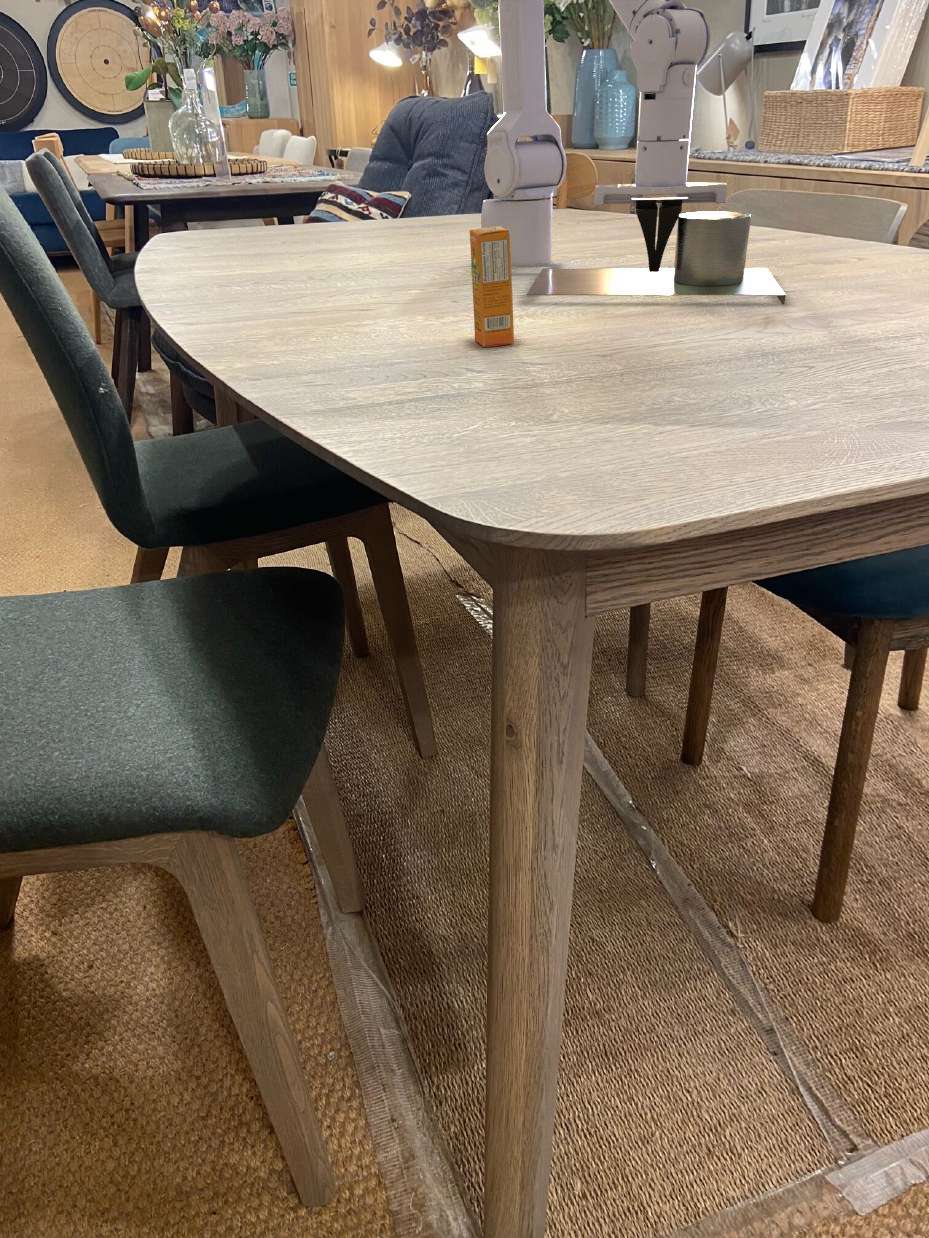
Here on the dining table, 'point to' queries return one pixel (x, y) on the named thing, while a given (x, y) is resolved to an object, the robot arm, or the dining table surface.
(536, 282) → the board
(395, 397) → the dining table surface
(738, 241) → the grey metal cylinder
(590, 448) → the dining table surface
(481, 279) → the supplement box
